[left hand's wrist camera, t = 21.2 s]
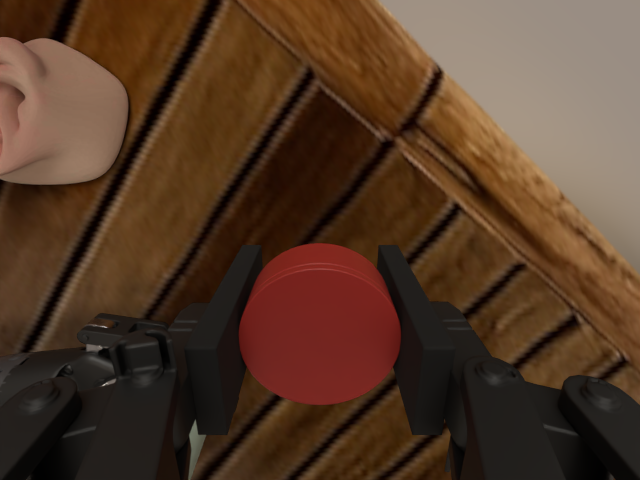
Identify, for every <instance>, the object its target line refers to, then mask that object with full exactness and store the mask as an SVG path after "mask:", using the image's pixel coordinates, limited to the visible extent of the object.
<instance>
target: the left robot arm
mask: <svg viewBox="0 0 640 480" xmlns="http://www.w3.org/2000/svg"><path fill="white" fill-rule="evenodd" d="M262 270H263V268H262V252H261V245H242V247H241V249H240V250H239V252H238V254H237V256H236V257H235V259H234V261H233V263H232V264H231V266H230V268H229V270H228V271H227V273H226V275H225V277H224V278H223V280H222V282H221V284H220V285H219V287H218V289H217V291H216V292H215V294H214V296H213V298H212V299H211V301H210V303H192V304H190V305H189V306H187V307H186V308H184V309H183V310H182V311H180V313H179V314H178V315H177V317H176V318H175V320H174V323H172V324H171V326H170V327H169V328H168V331H167V330H163V329H159V328H147V329H142V330H138V331H134V332H132V333H130V334H127V335H125V336H123V337H122V338H120V339H119V340H117V341H116V342H114V344H113V345H112V346H111V347H110V348H109V353H110V357H111V361H112V365H113V369H114V373H115V376H116V381H115V383H112V384H109V385H105V386H101V387H96V388H92V389H87V390H83V391H79V390H78V387H77V384H76V382H75V381H74V380H72V379H71V378H67V377H54V378H48V379H45V380H42V381H39V382H36V383H34V384H32V385H30V386H28V387H26V388H24V389H22V390H20V391H19V392H18V393H16V394H15V395H14V396H12V397H11V398H10V399H9V400H8V401H6V402H5V403H4V404H3V405H2V406H1V407H0V480H26V479H27V480H188V477H189V468H190V459H191V443H190V437H189V434H190V432H191V429H192V427H193V424H194V422H195V419H196V425H197V431H198V435H227V434H228V431H229V427H230V424H231V420H232V417H233V413H234V410H235V406H236V403H237V399H238V396H239V392H240V388H241V385H242V381H243V378H244V374H245V371H246V367H247V366H246V364H245V362H244V360H243V358H242V355H241V352H240V345H239V325H240V321H241V318H242V314H243V312H244V309H245V307H246V304H247V301H248V299H249V296H250V293H251V291H252V288H253V285H254V283H255V281H256V279H257V277H258V275H259V274H260V272H261V271H262ZM377 270H378V271H379V273H380V274H381V276H382V277H383V279H384V282H385V284H386V286H387V289H388V291H389V294H390V297H391V299H392V302H393V304H394V307H395V310H396V312H397V315H398V318H399V322H400V326H401V342H400V351H399V354H398V357H397V360H396V362H395V364H394V366H393V368H394V372H395V375H396V379H397V382H398V386H399V389H400V393H401V396H402V400H403V403H404V407H405V410H406V414H407V417H408V421H409V424H410V428H411V431H412V435H442V430H443V424H444V418H445V421H446V423H447V426H448V428H449V431H450V433H451V437H450V442H449V448H448V454H447V459H446V465H445V471H446V472H449V471H450V467H451V477H452V480H613V478H615V479H616V480H640V405H639V404H638V403H637V402H636V401H635V400H633V399H632V398H631V397H630V396H629V395H627V394H626V393H625V392H623V391H622V390H621V389H619V388H618V387H616V386H614V385H612V384H610V383H608V382H606V381H603V380H601V379H598V378H594V377H590V376H582V375H576V376H570V377H568V378H567V379H566V380H565V381H564V383H563V386H562V389H561V390H559V389H555V388H550V387H546V386H541V385H537V384H533V383H530V382H526V381H525V380H524V378H523V377H522V375H521V374H520V372H519V371H518V370H517V369H515V368H514V367H513V366H512V365H510V364H509V363H507V362H504V361H502V360H500V359H498V358H494V357H492V356H491V354H490V353H489V352H488V350H487V349H486V347H485V346H484V344H483V343H482V342H481V340H480V339H479V337H478V336H477V334H476V333H475V332H474V330H472V327H471V326H470V324H469V323H468V322H466V319H465V317H464V316H463V314H462V313H461V312H460V310H459V309H457V308H456V307H454V306H453V305H451V304H450V303H449V302H429V300H428V298H427V296H426V295H425V293H424V291H423V289H422V288H421V286H420V284H419V282H418V281H417V279H416V277H415V275H414V274H413V272H412V270H411V268H410V267H409V265H408V263H407V261H406V260H405V258H404V256H403V254H402V253H401V251H400V249H399V247H398V246H397V245H379V249H378V264H377Z"/></svg>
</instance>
